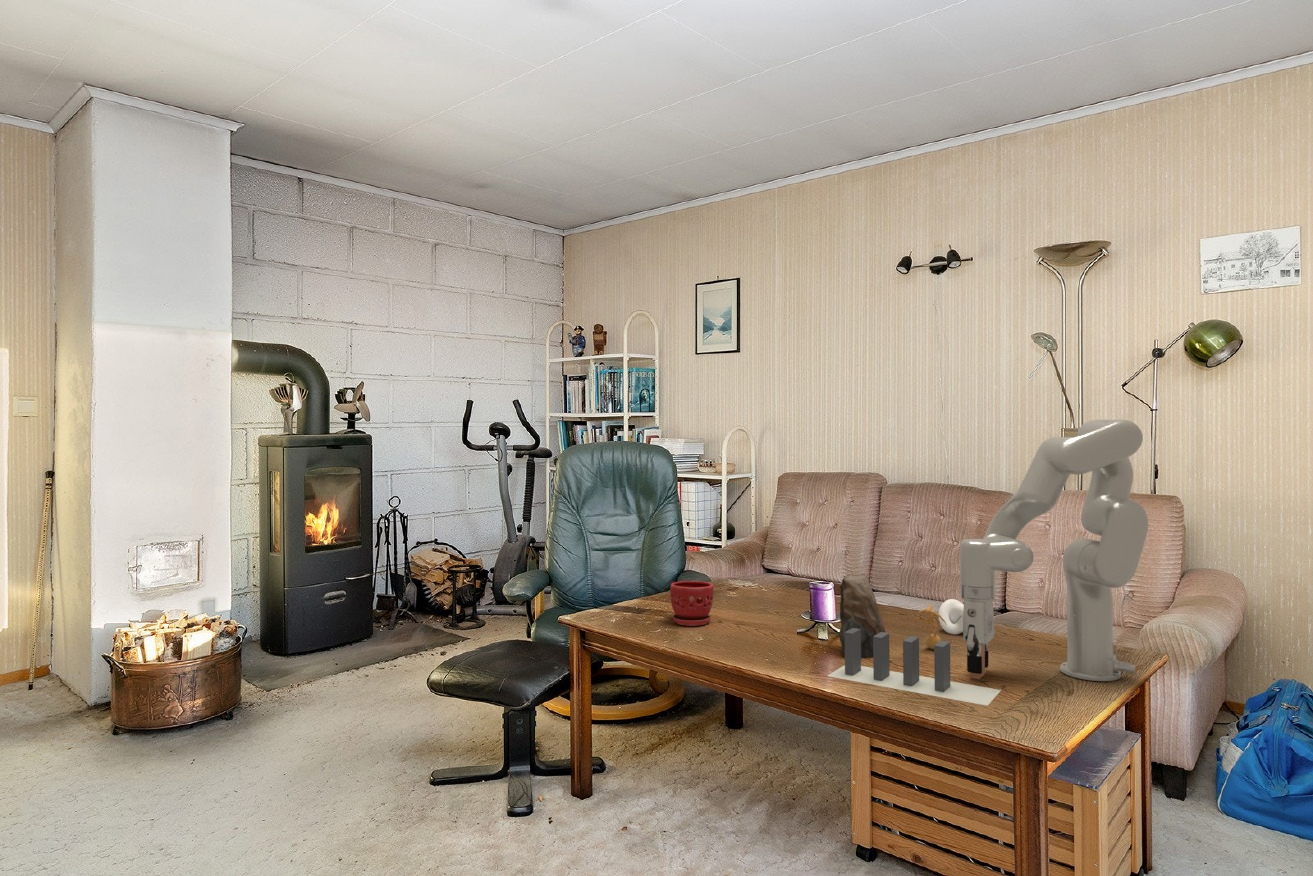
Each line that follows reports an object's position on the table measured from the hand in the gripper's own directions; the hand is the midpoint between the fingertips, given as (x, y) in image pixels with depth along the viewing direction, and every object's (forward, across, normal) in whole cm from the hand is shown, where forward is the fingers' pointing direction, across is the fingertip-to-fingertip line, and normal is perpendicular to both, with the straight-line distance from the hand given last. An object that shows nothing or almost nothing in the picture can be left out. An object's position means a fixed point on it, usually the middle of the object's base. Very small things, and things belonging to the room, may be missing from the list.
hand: (977, 668), depth 188 cm
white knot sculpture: (+2, +39, +15) cm, 42 cm away
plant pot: (+2, +7, +85) cm, 85 cm away
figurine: (+2, +17, +16) cm, 23 cm away
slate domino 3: (+2, -14, +11) cm, 18 cm away
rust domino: (+2, 0, 0) cm, 2 cm away
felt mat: (+2, -14, +11) cm, 18 cm away
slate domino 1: (+2, -14, +25) cm, 29 cm away
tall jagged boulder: (+2, +3, +29) cm, 29 cm away
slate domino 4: (+2, -14, +4) cm, 15 cm away
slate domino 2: (+2, -14, +18) cm, 23 cm away
